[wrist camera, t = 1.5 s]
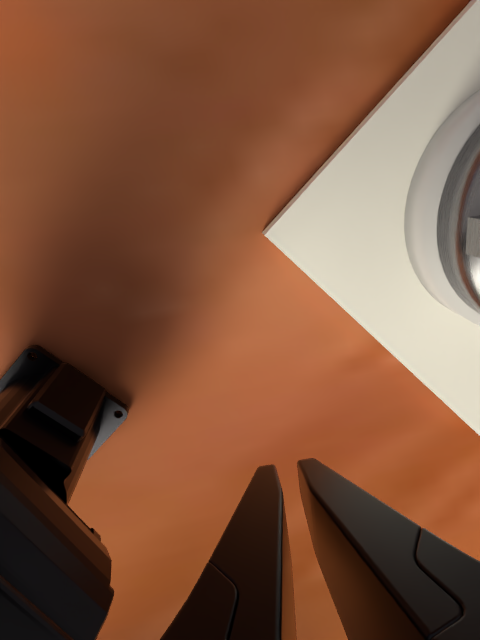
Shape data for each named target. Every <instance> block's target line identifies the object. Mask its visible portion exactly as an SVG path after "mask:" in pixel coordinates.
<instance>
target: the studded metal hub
mask: <svg viewBox="0 0 480 640" xmlns="http://www.w3.org/2000/svg"><path fill="white" fill-rule="evenodd" d="M437 246H438V252H439V258H440V262H441V265H442V268H443V271H444V274H445V276H446V278H447V280H448V282H449V284H450V285H451V287H452V288H453V290H454V291H455V292H456V294H457V295H458V296H459V298H460V299H461V300H462V301H463V302H464V303H465V304H466V305H467V306H469V307H470V308H472V309H473V310H474V311H476V312H477V313H479V314H480V124H479V125H478V127H477V128H476V129H475V131H474V132H473V133H472V135H471V136H470V137H469V139H468V140H467V141H466V143H465V144H464V146H463V148H462V149H461V151H460V153H459V154H458V156H457V158H456V160H455V162H454V164H453V166H452V168H451V170H450V172H449V174H448V177H447V180H446V183H445V186H444V189H443V192H442V195H441V200H440V204H439V209H438V217H437Z"/></svg>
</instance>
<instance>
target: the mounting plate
mask: <svg viewBox="0 0 480 640" xmlns="http://www.w3.org/2000/svg"><path fill="white" fill-rule="evenodd" d="M479 124H480V0H471V1H470V2H469V3H468V4H467V6H466V7H465V8H464V9H463V10H462V11H461V12H460V13H459V14H458V16H457V17H456V18H455V19H454V20H453V21H452V22H451V23H450V24H449V26H448V27H447V28H446V29H445V30H444V31H443V32H442V33H441V34H440V36H439V37H438V38H437V39H436V40H435V41H434V42H433V43H432V44H431V46H430V47H429V48H428V49H427V50H426V51H425V52H424V53H423V54H422V56H421V57H420V58H419V59H418V60H417V61H416V62H415V63H414V64H413V65H412V67H411V68H410V69H409V70H408V71H407V72H406V73H405V74H404V75H403V77H402V78H401V79H400V80H399V81H398V82H397V83H396V84H395V85H394V87H393V88H392V89H391V90H390V91H389V92H388V93H387V94H386V95H385V97H384V98H383V99H382V100H381V101H380V102H379V103H378V104H377V105H376V107H375V108H374V109H373V110H372V111H371V112H370V113H369V114H368V115H367V117H366V118H365V119H364V120H363V121H362V122H361V123H360V124H359V125H358V126H357V128H356V129H355V130H354V131H353V132H352V133H351V134H350V135H349V136H348V138H347V139H346V140H345V141H344V142H343V143H342V144H341V145H340V146H339V148H338V149H337V150H336V151H335V152H334V153H333V154H332V155H331V156H330V158H329V159H328V160H327V161H326V162H325V163H324V164H323V165H322V166H321V168H320V169H319V170H318V171H317V172H316V173H315V174H314V175H313V176H312V178H311V179H310V180H309V181H308V182H307V183H306V184H305V185H304V186H303V188H302V189H301V190H300V191H299V192H298V193H297V194H296V195H295V196H294V197H293V199H292V200H291V201H290V202H289V203H288V204H287V205H286V206H285V207H284V209H283V210H282V211H281V212H280V213H279V214H278V215H277V216H276V217H275V219H274V220H273V221H272V222H271V223H270V224H269V225H268V226H267V227H266V229H265V230H264V231H263V232H262V233H263V234H264V235H265V236H266V237H267V238H268V239H269V240H270V241H271V242H272V243H273V244H275V245H276V246H277V247H278V248H279V249H280V250H281V251H282V252H283V253H284V254H285V255H286V256H287V257H288V258H290V259H291V260H292V261H293V262H294V263H295V264H296V265H297V266H298V267H299V268H300V269H301V270H302V271H303V272H305V273H306V274H307V275H308V276H309V277H310V278H311V279H312V280H313V281H314V282H315V283H316V284H317V285H319V286H320V287H321V288H322V289H323V290H324V291H325V292H326V293H327V294H328V295H329V296H330V297H331V298H332V299H334V300H335V301H336V302H337V303H338V304H339V305H340V306H341V307H342V308H343V309H344V310H345V311H346V312H347V313H349V314H350V315H351V316H352V317H353V318H354V319H355V320H356V321H357V322H358V323H359V324H360V325H361V326H363V327H364V328H365V329H366V330H367V331H368V332H369V333H370V334H371V335H372V336H373V337H374V338H375V339H376V340H378V341H379V342H380V343H381V344H382V345H383V346H384V347H385V348H386V349H387V350H388V351H389V352H390V353H391V354H393V355H394V356H395V357H396V358H397V359H398V360H399V361H400V362H401V363H402V364H403V365H404V366H405V367H407V368H408V369H409V370H410V371H411V372H412V373H413V374H414V375H415V376H416V377H417V378H418V379H419V380H420V381H422V382H423V383H424V384H425V385H426V386H427V387H428V388H429V389H430V390H431V391H432V392H433V393H434V394H435V395H437V396H438V397H439V398H440V399H441V400H442V401H443V402H444V403H445V404H446V405H447V406H448V407H449V408H451V409H452V410H453V411H454V412H455V413H456V414H457V415H458V416H459V417H460V418H461V419H462V420H463V421H464V422H466V423H467V424H468V425H469V426H470V427H471V428H472V429H473V430H474V431H475V432H476V433H477V434H478V435H479V436H480V314H479V313H477V312H476V311H474V310H473V309H472V308H470V307H469V306H467V305H466V304H465V303H464V302H463V301H462V300H461V299H460V298H459V296H458V295H457V294H456V292H455V291H454V290H453V288H452V287H451V285H450V284H449V282H448V280H447V278H446V276H445V274H444V271H443V268H442V265H441V262H440V258H439V252H438V246H437V217H438V209H439V204H440V200H441V195H442V192H443V189H444V186H445V183H446V180H447V177H448V174H449V172H450V170H451V168H452V166H453V164H454V162H455V160H456V158H457V156H458V154H459V153H460V151H461V149H462V148H463V146H464V144H465V143H466V141H467V140H468V139H469V137H470V136H471V135H472V133H473V132H474V131H475V129H476V128H477V127H478V125H479Z"/></svg>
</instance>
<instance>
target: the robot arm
mask: <svg viewBox="0 0 480 640" xmlns="http://www.w3.org/2000/svg"><path fill="white" fill-rule="evenodd" d="M30 352H33V353H35V354H36V355H37V358H34V357H32V356H31V353H30ZM117 410H119V411H121V412H122V413H123V414H117V413H116V411H117ZM128 412H129V409H128V407H127V406H126V405H125V404H124V403H122V402H121V401H119V400H118V399H116V398H115V397H113V396H112V395H110V394H109V393H108V392H106V391H105V389H104V388H103V387H102V386H100V385H99V384H97V383H96V382H94V381H93V380H91V379H90V378H88V377H87V376H86V375H84V374H83V373H81V372H80V371H78V370H77V369H75V368H74V367H72V366H71V365H69V364H68V363H64V362H62V361H61V360H59V359H58V358H56V357H55V356H53V355H52V354H50V353H49V352H47V351H46V350H45V349H43V348H42V347H40V346H38V345H31V346H29V347H28V348H26V349H25V350H24V351H23V353H22V354H21V355H20V356H19V358H18V359H17V360H16V361H15V363H14V364H13V365H12V366H11V368H10V369H9V370H8V371H7V373H6V374H5V375H4V376H3V378H2V379H1V380H0V640H96V639H97V636H98V634H99V632H100V630H101V628H102V626H103V624H104V622H105V620H106V618H107V615H108V612H109V609H110V606H111V603H112V600H113V596H114V590H113V588H112V587H111V586H110V581H111V558H110V556H109V553H108V551H107V549H106V547H105V546H104V545H103V544H102V543H101V538H100V535H99V534H98V533H97V532H96V531H95V530H94V529H93V528H91V529H90V528H89V527H88V526H87V525H86V524H85V523H84V522H83V521H82V520H81V519H80V518H79V517H78V516H77V515H76V514H75V513H74V511H73V510H72V509H71V508H70V507H69V506H68V503H69V501H70V499H71V496H72V494H73V492H74V489H75V487H76V485H77V482H78V480H79V478H80V476H81V473H82V471H83V469H84V466H85V464H86V462H87V460H88V459H89V458H90V457H91V456H92V455H93V454H94V453H95V452H96V451H97V449H98V448H99V447H100V446H101V445H102V444H103V443H104V442H105V441H106V440H107V439H108V438H109V437H110V435H111V434H112V433H113V432H114V431H115V430H116V429H117V428H118V427H119V426H120V425H121V424H122V423H123V421H124V420H125V419H126V418H127V415H128ZM297 468H298V477H299V486H300V493H301V498H302V503H303V507H304V511H305V515H306V519H307V523H308V527H309V531H310V535H311V539H312V543H313V547H314V550H315V554H316V557H317V560H318V562H319V565H320V568H321V571H322V573H323V576H324V578H325V581H326V583H327V586H328V589H329V591H330V594H331V596H332V599H333V601H334V604H335V607H336V609H337V612H338V614H339V617H340V619H341V622H342V625H343V627H344V630H345V632H346V635H347V637H348V640H480V561H478V560H476V559H474V558H473V557H471V556H469V555H467V554H465V553H464V552H462V551H460V550H459V549H457V548H455V547H454V546H452V545H450V544H449V543H447V542H445V541H444V540H442V539H441V538H439V537H437V536H436V535H434V534H433V533H431V532H429V531H428V530H426V529H425V528H421V527H420V526H419V525H417V524H416V523H414V522H413V521H411V520H410V519H408V518H407V517H405V516H403V515H402V514H400V513H399V512H397V511H396V510H394V509H392V508H391V507H389V506H388V505H386V504H385V503H383V502H382V501H380V500H378V499H377V498H375V497H374V496H372V495H371V494H369V493H368V492H366V491H364V490H363V489H361V488H360V487H358V486H357V485H355V484H353V483H352V482H350V481H349V480H347V479H346V478H344V477H343V476H341V475H339V474H338V473H336V472H335V471H333V470H332V469H330V468H329V467H327V466H325V465H324V464H322V463H321V462H319V461H318V460H316V459H314V458H310V459H303V460H299V461H298V463H297ZM160 640H297V638H296V622H295V606H294V590H293V575H292V562H291V554H290V546H289V538H288V530H287V522H286V514H285V507H284V499H283V492H282V488H281V484H280V481H279V477H278V474H277V470H276V467H275V465H265V466H260V467H258V468H257V470H256V472H255V474H254V476H253V478H252V480H251V482H250V483H249V485H248V487H247V489H246V491H245V493H244V495H243V497H242V499H241V501H240V503H239V504H238V506H237V508H236V510H235V512H234V514H233V516H232V518H231V520H230V522H229V523H228V525H227V527H226V529H225V531H224V533H223V535H222V537H221V539H220V541H219V543H218V544H217V546H216V548H215V550H214V552H213V554H212V556H211V558H210V560H209V563H207V564H206V566H205V568H204V570H203V572H202V574H201V576H200V578H199V579H198V581H197V583H196V585H195V586H194V588H193V590H192V592H191V593H190V595H189V597H188V599H187V600H186V602H185V603H184V605H183V606H182V608H181V609H180V611H179V612H178V614H177V615H176V617H175V618H174V620H173V622H172V623H171V625H170V626H169V627H168V629H167V630H166V632H165V633H164V635H163V636H162V637H161V639H160Z"/></svg>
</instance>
